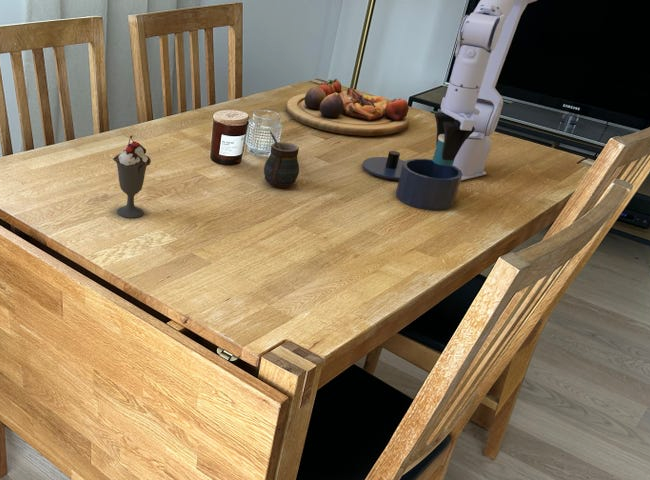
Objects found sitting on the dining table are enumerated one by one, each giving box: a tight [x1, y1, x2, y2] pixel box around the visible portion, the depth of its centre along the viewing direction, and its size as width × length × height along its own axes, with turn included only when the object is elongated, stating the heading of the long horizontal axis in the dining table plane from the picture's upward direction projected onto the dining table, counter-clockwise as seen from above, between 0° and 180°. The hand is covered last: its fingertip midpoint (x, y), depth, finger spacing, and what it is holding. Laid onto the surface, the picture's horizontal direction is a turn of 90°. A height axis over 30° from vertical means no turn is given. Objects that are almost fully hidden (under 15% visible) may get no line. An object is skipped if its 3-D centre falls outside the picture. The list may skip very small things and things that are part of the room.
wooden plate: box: [285, 78, 410, 137], centre depth 189 cm, size 32×32×8 cm
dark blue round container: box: [395, 158, 462, 211], centre depth 147 cm, size 11×11×6 cm
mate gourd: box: [263, 131, 300, 189], centre depth 147 cm, size 7×8×10 cm
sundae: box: [112, 134, 152, 219], centre depth 130 cm, size 7×7×15 cm
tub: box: [432, 134, 455, 166], centre depth 143 cm, size 4×4×5 cm
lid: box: [361, 150, 406, 181], centre depth 159 cm, size 12×12×4 cm
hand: (444, 155), depth 143 cm, fingers closed on tub, 4 cm apart
